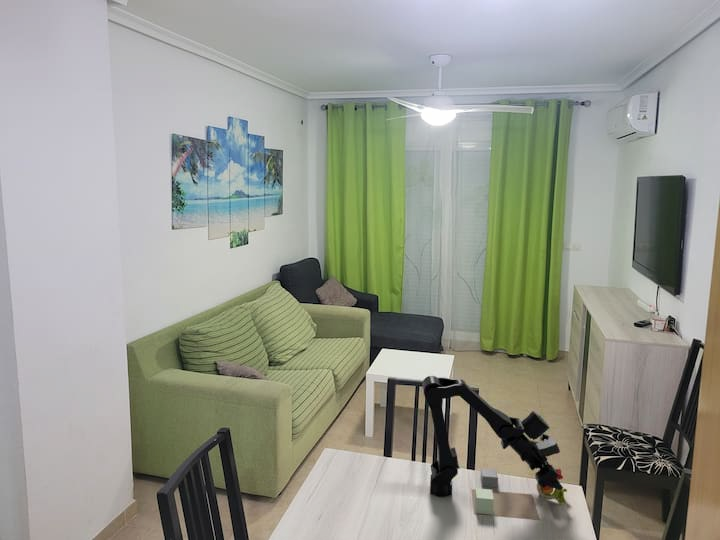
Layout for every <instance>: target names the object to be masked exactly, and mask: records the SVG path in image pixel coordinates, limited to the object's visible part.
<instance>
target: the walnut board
mask: <svg viewBox="0 0 720 540" xmlns="http://www.w3.org/2000/svg"><path fill="white" fill-rule="evenodd" d="M492 492H493V498H494V505H493V515H492V514H481V513H476V511H475V489H474V488H473V489H471V497H472V498H471V499H472V507H473V514H474V515H482V516H489V517H491V516H492V517H502V518H503V517H504V518H511V519H512V518H514V519H524V520H534V521H535V520H536V521H541V518H540V515H539V512H538V508H537V505H536V502H535V499H534V495H533V494H531V493H521V492H509V491H497V490H496V491H495V490H492Z"/></svg>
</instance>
